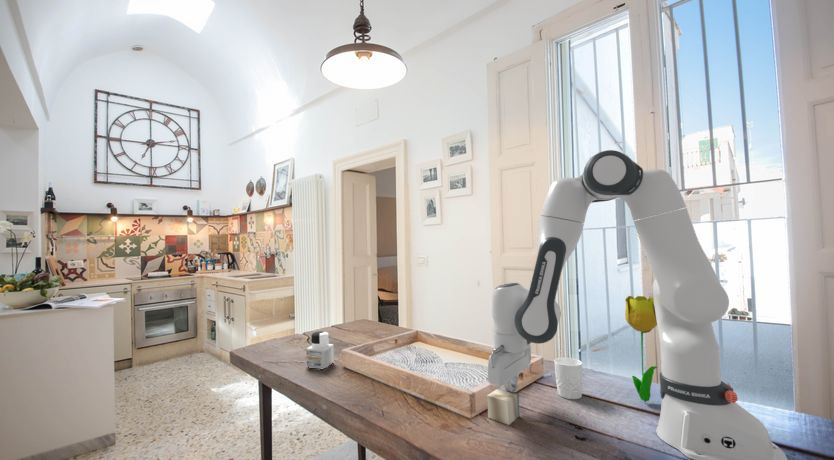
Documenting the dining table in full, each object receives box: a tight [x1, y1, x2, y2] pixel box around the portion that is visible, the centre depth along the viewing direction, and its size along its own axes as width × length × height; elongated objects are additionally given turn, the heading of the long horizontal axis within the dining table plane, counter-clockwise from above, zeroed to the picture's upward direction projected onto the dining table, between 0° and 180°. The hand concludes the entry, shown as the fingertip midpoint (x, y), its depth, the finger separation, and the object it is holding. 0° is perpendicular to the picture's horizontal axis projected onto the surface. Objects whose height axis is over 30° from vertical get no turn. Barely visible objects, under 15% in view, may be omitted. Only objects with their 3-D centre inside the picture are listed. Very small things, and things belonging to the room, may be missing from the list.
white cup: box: [553, 356, 583, 400], centre depth 110 cm, size 8×8×10 cm
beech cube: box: [486, 387, 520, 426], centre depth 97 cm, size 6×6×6 cm
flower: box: [624, 295, 658, 403], centre depth 104 cm, size 9×8×30 cm
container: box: [305, 330, 335, 369], centre depth 142 cm, size 8×8×13 cm
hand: (511, 392), depth 101 cm, fingers closed
